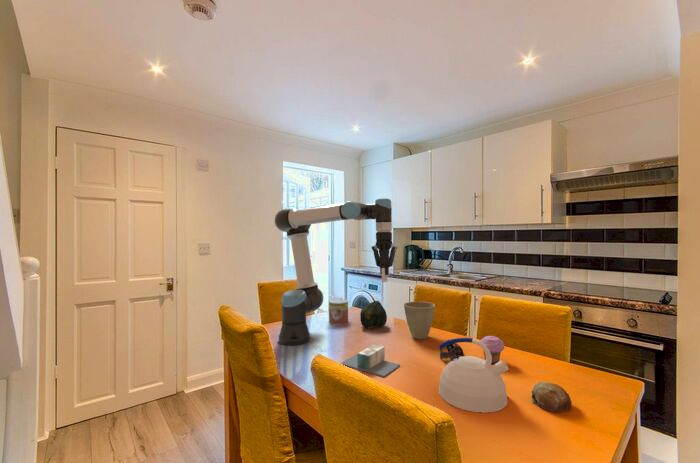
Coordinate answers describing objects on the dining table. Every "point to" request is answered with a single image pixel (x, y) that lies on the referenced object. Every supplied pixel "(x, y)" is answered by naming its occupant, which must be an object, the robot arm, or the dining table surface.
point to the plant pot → (419, 318)
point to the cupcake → (493, 347)
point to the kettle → (473, 381)
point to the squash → (373, 315)
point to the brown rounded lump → (551, 397)
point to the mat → (379, 369)
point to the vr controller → (451, 351)
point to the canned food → (338, 311)
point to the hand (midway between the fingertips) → (384, 281)
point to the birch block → (370, 356)
